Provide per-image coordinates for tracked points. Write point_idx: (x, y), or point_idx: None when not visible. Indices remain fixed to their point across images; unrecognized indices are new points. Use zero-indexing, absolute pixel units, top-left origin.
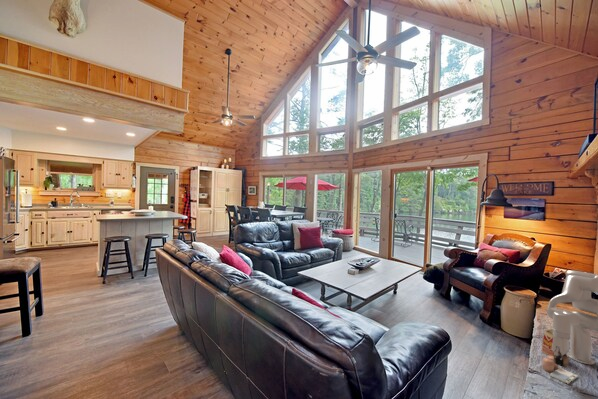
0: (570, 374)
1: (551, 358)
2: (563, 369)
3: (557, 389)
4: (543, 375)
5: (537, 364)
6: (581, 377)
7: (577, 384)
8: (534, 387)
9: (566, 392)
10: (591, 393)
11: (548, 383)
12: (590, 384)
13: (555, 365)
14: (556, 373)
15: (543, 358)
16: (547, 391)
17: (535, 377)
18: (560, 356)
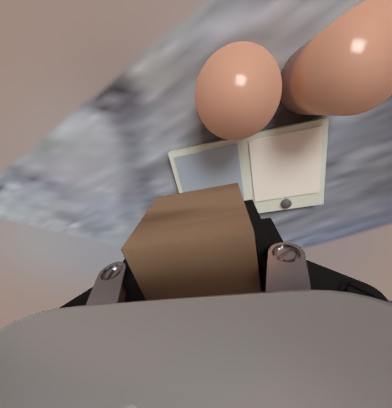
0: (290, 189)
1: (321, 74)
2: (320, 143)
3: (101, 224)
4: (134, 139)
5: (228, 18)
6: (337, 205)
7: None
8: (8, 192)
9: (122, 243)
10: None
11: (98, 191)
12: (298, 245)
13: (301, 110)
14: (213, 161)
15: (227, 51)
16: (47, 221)
17: (70, 141)
18: (172, 292)
